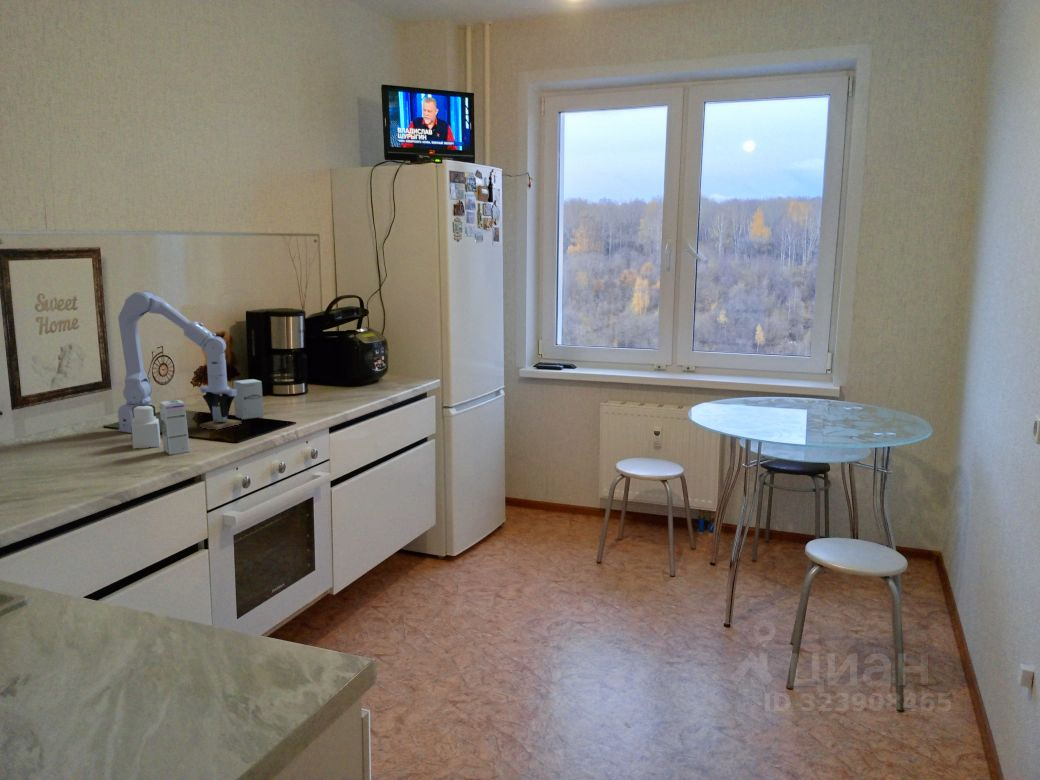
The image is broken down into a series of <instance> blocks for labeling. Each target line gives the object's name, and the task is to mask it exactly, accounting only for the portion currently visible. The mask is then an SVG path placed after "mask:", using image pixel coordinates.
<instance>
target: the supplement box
mask: <svg viewBox="0 0 1040 780" xmlns="http://www.w3.org/2000/svg"><path fill="white" fill-rule="evenodd" d="M232 383H233V388H232V389H236V390H237V395H236V396H234V399H233V401H234V402H233V404H234V417H236V418H238V419H240V418H241V420H243V419H244V420H248V419H258V418H263V417H264V401H263V384H262V381H261V380H258V379H254V378H252V379H251V378H250V379H243V380H242V379H241V380H234V381H233V380H232Z"/></svg>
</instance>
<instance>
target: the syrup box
mask: <svg viewBox="0 0 1040 780" xmlns="http://www.w3.org/2000/svg"><path fill="white" fill-rule="evenodd" d="M158 403H159V414H160V415H159V416H160V424H161V433H162V434H161V435H162V436H161V437H162V444H163V446H162V447H163V451H164V452H165V453H166V454H167V455H169V456H173V455H178V454H185V453H189V452H190V442H189V432H188V422H187V421H188V420H187V414H186V403H185V402H183V400H181V399H174V400H173V399H172V400H165V401H159V402H158ZM172 454H173V455H172Z"/></svg>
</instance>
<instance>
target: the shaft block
mask: <svg viewBox="0 0 1040 780" xmlns="http://www.w3.org/2000/svg"><path fill="white" fill-rule="evenodd" d="M239 424H242V420H238V419H229V418H227V421H224V422H213V420H212V421H207V422H203V423H200V424H199V428H200V427H202V428H201V429H203V428H207V429H206V430H210V429H216V430H218V429H222V428H226V427H230V426H234V425H238V426H240V425H239ZM234 427H235V426H234ZM230 428H231V427H230ZM226 429H227V428H226ZM216 430H215V431H216ZM222 430H223V429H222ZM218 431H219V430H218Z"/></svg>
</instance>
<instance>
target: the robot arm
mask: <svg viewBox="0 0 1040 780" xmlns="http://www.w3.org/2000/svg"><path fill="white" fill-rule="evenodd" d="M148 312H149V313H150V314H157V315H162V316H164V317H165V318H166V319H168V320H169V321H170V322H171V323H173V324H175V325H176V326H178V327H180V328H181V329H182V330H183V335H184V336H185V337H187V338H188V339H189V340H190V341H192V342H193V343H194V344H196V345H197V346H199V347H200V348H202V349H203V351H204V352H203V353H205V354H206V367H207V371H206V372H207V385H208V386H207V385H204V386H200V387H199V389H200V394H202V393H205V394H203V395H202V399H203V400H204V401H205V402H206V404H207V406H208V409H209V412H210V414H211V417H213V409H212V406H213V405H217V404H219V405H220V410H221V416H222V417H227V418H228V417H229V415H230V414H229V413H230V410H231V405H232V402H233V401H234V396H236V395H237V390H236V389H234V388H231V387H230V385H229V386H228V377H227V376H228V375H227V361H226V352H225V351H226V349H227V344H226V343H227V342H226V341H225V340H224V339H223V337H221V336H217V334H216V333H215V332H212V331H210V330H209V329H207V328H206V327H205V326H204V325H205V324H204V323H203V322H198V321H197V320H195V321H191V320H189V319H188V318H186V317H185V316H184V315H183V314H181V313H180V312H179V311H178V310H176V308H174V307H173V306H172V305H170V304H169V303H168V302H167V301H166V300H164V299H163V298H162V297H160V296H158V295H156V294H155V293H154V292H153V291H150V290H142V291H135V292H133V293H131V294H130V295H129V296H128V297H126V298H125V299H124V305H123V306H122V308H121V311H120V313H119V314H118V318H117V319H118V326H119V333H120V339H121V345H122V352H123V359H124V365H125V372H126V373H125V374H126V375H125V377H124V378H125V379H124V389H123V392H122V395H123V397H124V399H125V400H126V401H125V402H126V403H125V404H123V405H120V406H119V408H118V410H117V415H118V425H119V428H118V432H123V433H128V434H131V424H132V421H133V413H132V408H133V407H135V406H137V405H144V404H150V405H153V404H152V398H151V397H150V396H151V395H152V393H153V385H152V383H151V382H150V381H149V378H148V377H149V376H148V375H147V373H146V371H145V366H144V359H143V354H142V346H141V340H140V339H141V338H140V333H139V326H138V322H139V320H140V319H142V317H144V315H146V314H147V313H148ZM160 427H161V426H160V425H159V429H160Z"/></svg>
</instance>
